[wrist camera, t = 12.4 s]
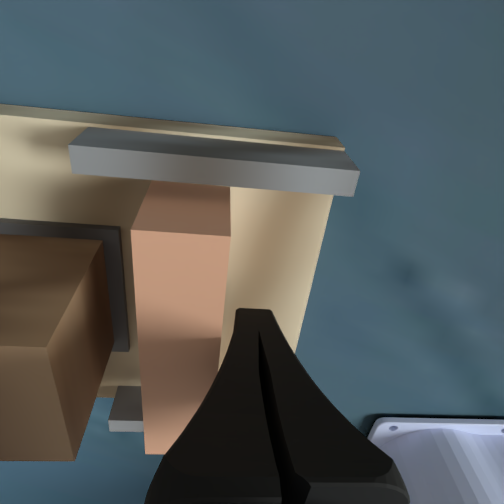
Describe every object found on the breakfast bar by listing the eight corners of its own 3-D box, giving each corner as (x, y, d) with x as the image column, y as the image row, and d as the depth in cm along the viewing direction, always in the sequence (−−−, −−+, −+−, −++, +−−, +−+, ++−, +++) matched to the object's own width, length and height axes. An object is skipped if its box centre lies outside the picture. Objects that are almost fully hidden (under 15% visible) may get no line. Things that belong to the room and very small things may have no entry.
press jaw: (230, 186, 13) (230, 236, 10) (212, 387, 18) (210, 454, 15) (151, 180, 12) (130, 229, 10) (157, 385, 18) (145, 454, 15)
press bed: (335, 136, 13) (404, 221, 8) (280, 382, 20) (298, 511, 15) (-171, 86, 12) (-487, 153, 7) (-45, 372, 19) (-149, 514, 14)
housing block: (102, 240, 13) (46, 347, 9) (114, 342, 16) (74, 461, 12) (-52, 230, 13) (-184, 339, 9) (-13, 337, 16) (-101, 460, 11)
